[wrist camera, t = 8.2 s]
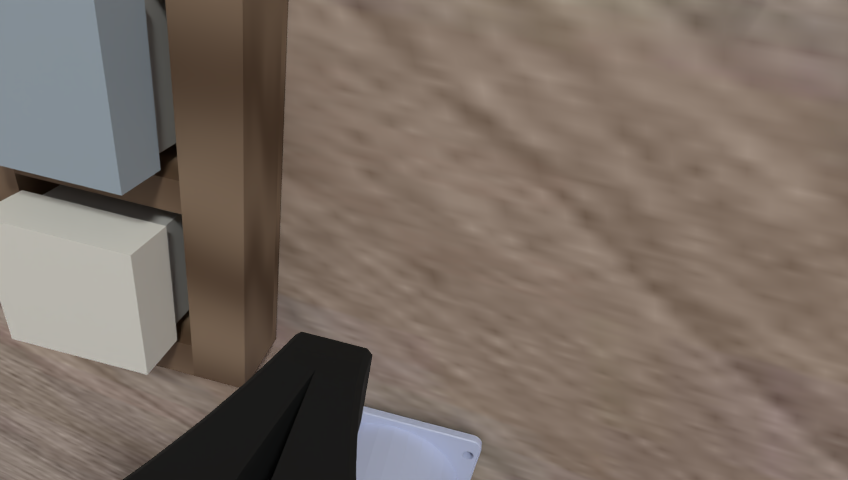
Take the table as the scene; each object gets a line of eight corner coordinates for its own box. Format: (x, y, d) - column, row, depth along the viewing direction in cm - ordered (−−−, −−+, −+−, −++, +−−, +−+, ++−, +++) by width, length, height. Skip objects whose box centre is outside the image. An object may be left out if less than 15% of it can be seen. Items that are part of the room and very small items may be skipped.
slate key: (189, 150, 17) (121, 195, 15) (47, 116, 18) (-48, 154, 15) (179, -15, 15) (94, 0, 12) (12, -52, 15) (-110, -47, 12)
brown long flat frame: (275, 338, 23) (244, 388, 21) (64, 283, 24) (8, 326, 21) (304, -455, 11) (239, -564, 9) (-123, -529, 12) (-301, -650, 9)
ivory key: (199, 313, 21) (147, 374, 18) (82, 283, 21) (12, 338, 19) (192, 203, 19) (130, 255, 16) (58, 171, 19) (-28, 215, 16)
